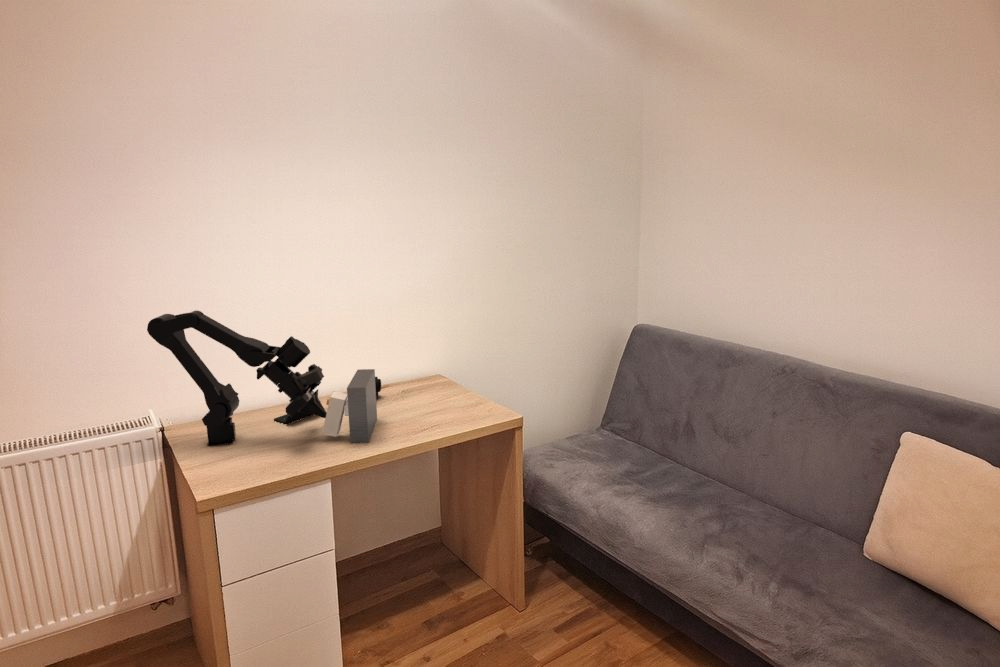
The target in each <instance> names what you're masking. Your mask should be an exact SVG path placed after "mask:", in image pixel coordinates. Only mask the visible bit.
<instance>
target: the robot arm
mask: <svg viewBox="0 0 1000 667" xmlns="http://www.w3.org/2000/svg"><path fill="white" fill-rule="evenodd" d="M146 327H147V328H146V332H147V333H148V335H149V336H150V337H151V338H152V339H153V340H154V341H155V342H157V344H159V345H160V346H163V347H164V348H166V349H167V350H169V351H170V352H171V353H172V354H173V356H174V357H175V358H176V359H177V361H178V362H179V363H180V365H181V366H182V368H183V369H184V370H185V371H186V372H187V374H188V375H189V376H190V378H191V379H192V380H193V382H194V383H195V384H196V385H197V386H198V388H199V389H200V390H201V392H202V393H203V397H204V401H205V404H206V407H207V408H208V412H207V413H206V414H205V415H204V416H203V417H202V418H201V421H202V423H203V425H204V426H205V427H206V434H207V443H206V446H207V447H214V446H224V445H231V444H233V442H234V441H235V439H236V436H237V434H236V433H237V432H236V423H235V422H233V417H232V416H233V415H234V412H235V411H236V410H237V409H238V407H239V405H240V398H239V393H238V392H237V391H235V389H234V388H233V386H232V384H231V383H227V384H226V385H224V384H223V383H221V382H219V381H218V379H217V378H216V377H215V375H214V373H212V371H211V370H210V369H209V368H208V367H207V365H206V364H205V362H204V361H203V360H202V358H201V357H200V355H198V353H197V352H196V351H195V350H194V348H193V347H192V346H191V344H190V343H189V341H188V340H187V338H186V333H185V330H187V329H191V328H192V329H194V330H195V331H197V332H199V333H201V334H203V335H204V336H206V337H208V338H210V339H212V340H214V341H216V342H218V343H219V344H221V345H223V346H225V347H226V348H228V349H229V350H231V351H232V352H234V353H235V354H236V356H237V357H238V358H239V359H240V360H241V361H242V362H243V363H245V364H246V365H247V366H248V367H252V368H255V367H256V368H257V367H258V368H257V369H255V371H256V380H260V379H261V378H262V377H263V376H265V377H266V378H267V379H268V380H269V381H270V382H272V383H273V384H274V385H275V386H276V387H277V388H278V389H277V391H278V392H279V393H280V394H281V393H284V394H285V395H286V396H287V397H288V398H289V400H288V401H289V403H288V404H287V406H286V407H285V413H286V414H288V415H289V416H290V417H292V416H293V415H294V414H295V413H296V412H297V411H299V412H300V411H301V412H305V413H309V414H313V415H312V416H316V417H319V418H323V419H325V418H326V414H327V410H326V409H325V408H324V406H323V404H322V402H320V401H321V400H320V398H319V389H316V388H317V387H319V386H320V385H321V383H322V381H323V378H325V375H324V374H323V368H322V367H320V365H319V366H318V365H316V364H315V363H313V364H310V365H309V366H308V367H307V371H306V372H304V373H302V374H301V372H299V371H295V372H294V371H293V370H292V369H291V368H297V367H298V366H299V365H300V363H302V362H303V360H305V359H306V358H307V357H308V356H309V355H310V353H311V350H310V348H309V346H307V344H306V343H305V342H303V341H301V340H299V339H297V338H294V336H293V335H291V336H290V337H289V338H288V339H286V340H285V342H284V344H283V345H281V346H275V345H269V344H268V343H267V342H265V341H262V340H260V339H256V338H253V337H248V336H245V335H242V334H240V333H238V332H236V331H235V330H233V329H231V328H229V327H227V326H225V325H224V324H223V323H220V322H219V321H216V320H215V319H213V318H211V317H209V316H208V315H206V314H204V313H203V311H200V310H193V311H191V312H185V313H184V312H183V313H179V314H176V315H175V314H171V313H164V314H162V315H159V316H157V317H154V318H153V319H150V320H149V321H148V323H147V326H146ZM276 357H278V358H276ZM275 358H276V359H275ZM273 359H275V360H274V361H273ZM264 363H265V364H264ZM263 364H264V366H262V367H261V365H263ZM315 389H316V390H315ZM314 390H315V391H314Z"/></svg>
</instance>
